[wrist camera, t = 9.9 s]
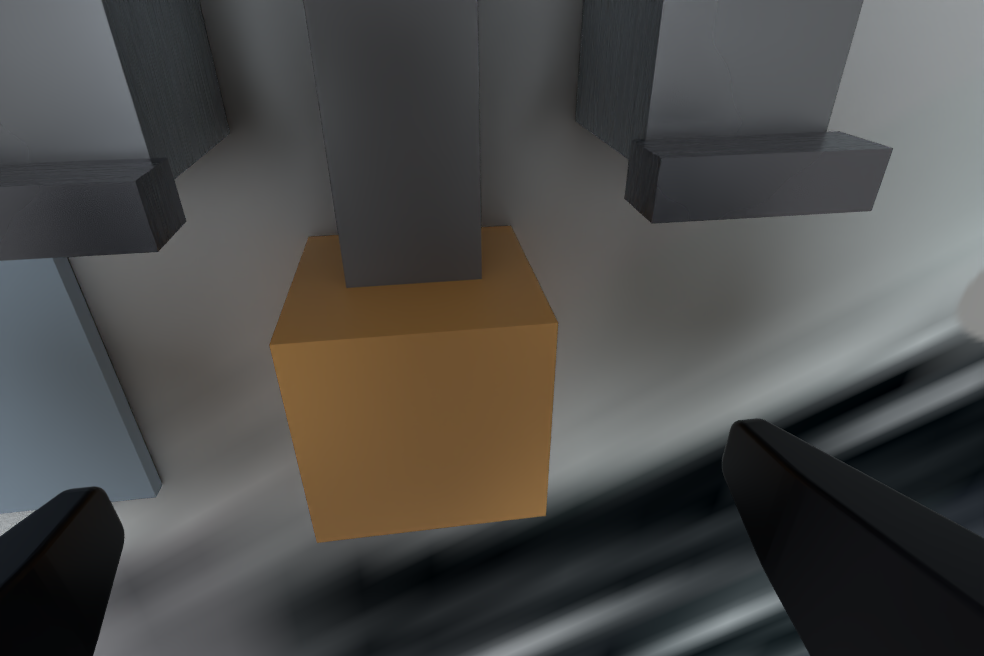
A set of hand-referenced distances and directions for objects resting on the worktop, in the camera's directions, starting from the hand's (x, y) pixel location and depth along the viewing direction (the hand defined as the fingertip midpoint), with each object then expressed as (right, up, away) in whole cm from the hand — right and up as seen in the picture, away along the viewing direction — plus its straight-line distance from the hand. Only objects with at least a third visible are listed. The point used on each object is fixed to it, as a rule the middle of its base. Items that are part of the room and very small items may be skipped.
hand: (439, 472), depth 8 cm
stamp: (-1, +5, +2) cm, 6 cm away
